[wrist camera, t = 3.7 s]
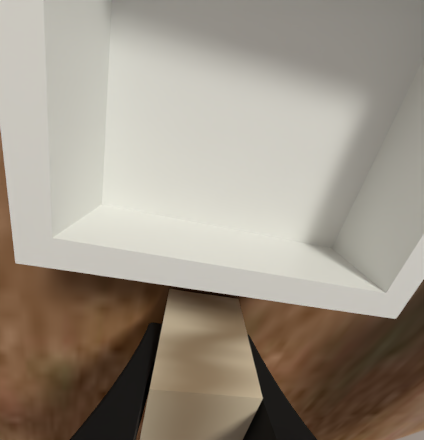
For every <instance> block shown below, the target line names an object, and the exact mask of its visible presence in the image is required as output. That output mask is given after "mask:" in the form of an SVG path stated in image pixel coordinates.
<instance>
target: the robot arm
mask: <svg viewBox="0 0 424 440" xmlns="http://www.w3.org/2000/svg"><path fill="white" fill-rule="evenodd" d="M161 329H162V324H159V323H150V324H149V325H148V328H147V330H146V332H145V334H144V336H143V338H142V340H141V342H140V344H139V346H138V348H137V349H136V351H135V353H134V354H133V356H132V357H131V359H130V361H129V362H128V364H127V365H126V367H125V368H124V370H123V371H122V373H121V374H120V376H119V377H118V379H117V380H116V382H115V383H114V385H113V386H112V387H111V389H110V390H109V391H108V393H107V394H106V395H105V397H104V398H103V399H102V401H101V402H100V403H99V405H98V406H97V407H96V408H95V410H94V411H93V412H92V413H91V415H90V416H89V417H88V418H87V420H86V421H85V422H84V423H83V425H82V426H81V427H80V428H79V429H78V430H77V432H76V433H75V434H74V435H73V436H72V438H71V439H70V440H136V436H137V432H138V428H139V425H140V421H141V418H142V414H143V410H144V407H145V403H146V399H147V396H148V392H149V388H150V385H151V379H152V374H153V369H154V364H155V359H156V354H157V349H158V344H159V339H160V334H161ZM247 335H248V334H247ZM248 339H249V344H250V348H251V352H252V356H253V360H254V364H255V368H256V372H257V376H258V380H259V384H260V389H261V393H262V397H263V399H262V401H261V403H260V405H259V407H258V409H257V411H256V413H255V415H254V417H253V420H252V422H251V424H250V426H249V428H248V430H247V432H246V434H245V436H244V438H243V440H317V439H316V438H315V436H314V435H313V434H312V433H311V431H310V430H309V429H308V428H307V426H306V425H305V424H304V422H303V421H302V420H301V418H300V417H299V416H298V414H297V413H296V411H295V410H294V409H293V407H292V406H291V404H290V403H289V401H288V400H287V399H286V397H285V395H284V394H283V392H282V391H281V389H280V388H279V386H278V385H277V383H276V382H275V380H274V378H273V377H272V375H271V373H270V372H269V370H268V368H267V367H266V365H265V363H264V361H263V360H262V358H261V356H260V354H259V353H258V351H257V349H256V347H255V345H254V343H253V342H252V340H251V338H250V336H249V335H248Z"/></svg>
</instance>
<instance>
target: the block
mask: <svg viewBox="0 0 424 440" xmlns="http://www.w3.org/2000/svg"><path fill="white" fill-rule="evenodd" d="M262 399H263V397H262V393H261V389H260V384H259V380H258V376H257V372H256V368H255V364H254V360H253V356H252V352H251V348H250V344H249V339H248V335H247V331H246V327H245V323H244V319H243V315H242V311H241V307H240V303H239V299H235V298H229V297H222V296H215V295H208V294H201V293H194V292H188V291H181V290H174V289H169V294H168V299H167V304H166V309H165V314H164V319H163V324H162V329H161V334H160V339H159V344H158V349H157V354H156V359H155V364H154V369H153V374H152V379H151V385H150V390H149V395H148V400H147V405H146V410H145V416H144V421H143V426H142V431H141V436H140V440H243V438H244V436H245V434H246V432H247V430H248V428H249V426H250V424H251V422H252V420H253V417H254V415H255V413H256V411H257V409H258V407H259V405H260V403H261V401H262Z"/></svg>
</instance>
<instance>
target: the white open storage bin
mask: <svg viewBox="0 0 424 440" xmlns="http://www.w3.org/2000/svg"><path fill="white" fill-rule="evenodd" d="M0 128H1V137H2V146H3V155H4V164H5V173H6V182H7V191H8V200H9V209H10V218H11V227H12V236H13V245H14V254H15V263H18V264H25V265H32V266H39V267H45V268H52V269H59V270H66V271H73V272H79V273H86V274H93V275H100V276H107V277H113V278H120V279H127V280H134V281H141V282H147V283H154V284H161V285H168V286H175V287H181V288H188V289H195V290H202V291H209V292H215V293H222V294H229V295H236V296H243V297H249V298H256V299H263V300H270V301H277V302H283V303H290V304H297V305H304V306H311V307H317V308H324V309H331V310H338V311H345V312H351V313H358V314H365V315H372V316H379V317H385V318H392V319H396V318H397V317H398V315H399V314H400V313H401V311H402V310H403V308H404V307H405V305H406V304H407V302H408V301H409V300H410V298H411V297H412V295H413V294H414V292H415V291H416V289H417V288H418V287H419V285H420V284H421V282H422V281H423V279H424V0H0Z"/></svg>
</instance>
